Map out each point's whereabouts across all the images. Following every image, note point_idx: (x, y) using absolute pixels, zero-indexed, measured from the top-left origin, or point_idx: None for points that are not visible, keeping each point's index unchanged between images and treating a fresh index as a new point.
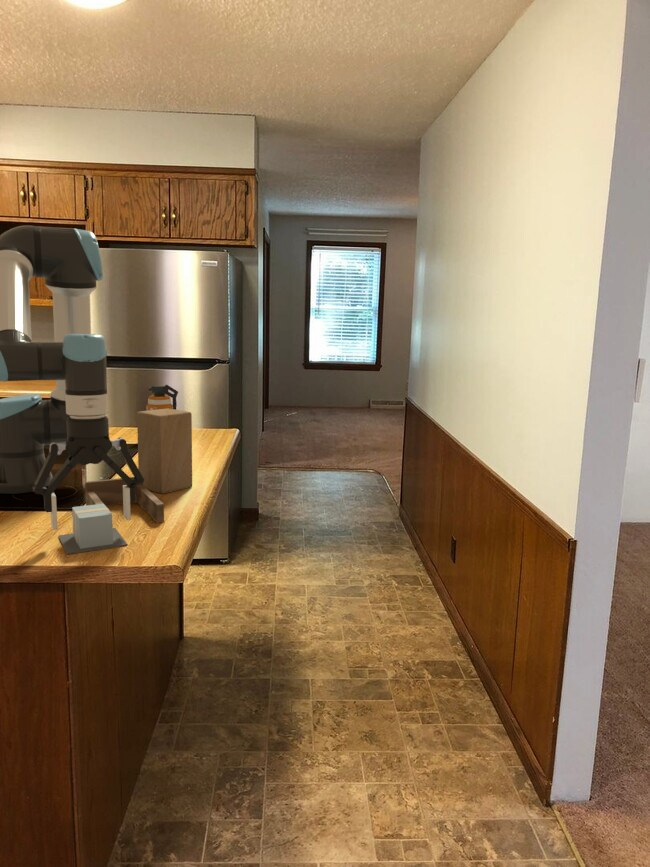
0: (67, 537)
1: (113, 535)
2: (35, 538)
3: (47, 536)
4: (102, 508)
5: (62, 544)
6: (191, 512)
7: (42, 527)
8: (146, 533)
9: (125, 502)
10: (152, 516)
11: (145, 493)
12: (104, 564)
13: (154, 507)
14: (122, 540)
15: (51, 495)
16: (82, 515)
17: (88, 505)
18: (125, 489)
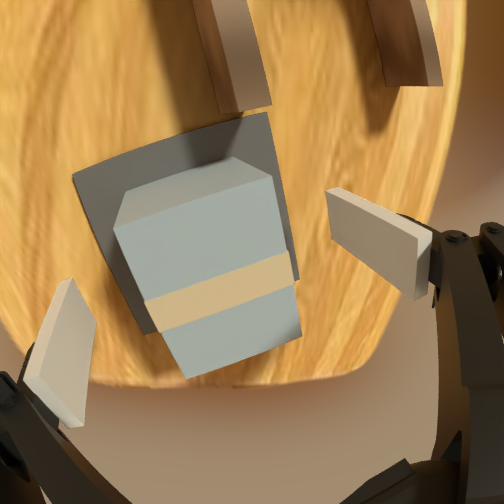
0: (107, 201)
1: None
2: (8, 185)
3: (37, 165)
4: (268, 265)
5: (106, 258)
6: (451, 40)
7: (9, 66)
8: (353, 179)
9: (369, 254)
10: (377, 32)
11: None
12: (243, 380)
13: (409, 54)
14: (288, 249)
15: (56, 414)
16: (192, 352)
17: (194, 202)
18: (410, 291)
